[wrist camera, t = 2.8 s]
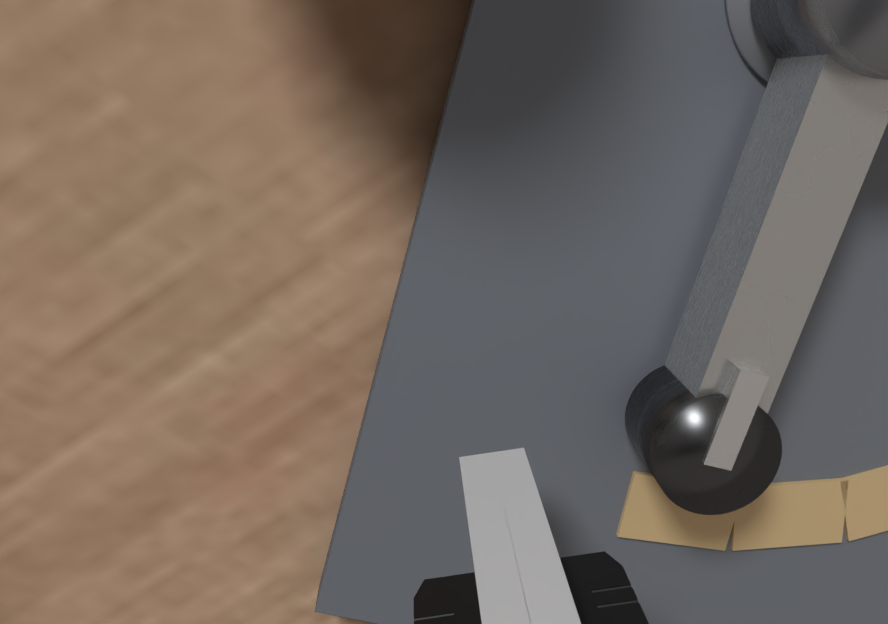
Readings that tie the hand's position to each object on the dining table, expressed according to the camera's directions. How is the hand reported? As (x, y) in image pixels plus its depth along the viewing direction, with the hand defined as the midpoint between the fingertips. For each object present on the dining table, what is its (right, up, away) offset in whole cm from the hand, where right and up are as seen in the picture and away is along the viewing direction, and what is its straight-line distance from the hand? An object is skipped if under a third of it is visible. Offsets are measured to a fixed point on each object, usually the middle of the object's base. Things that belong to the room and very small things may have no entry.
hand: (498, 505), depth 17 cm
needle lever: (+6, +7, +1) cm, 10 cm away
